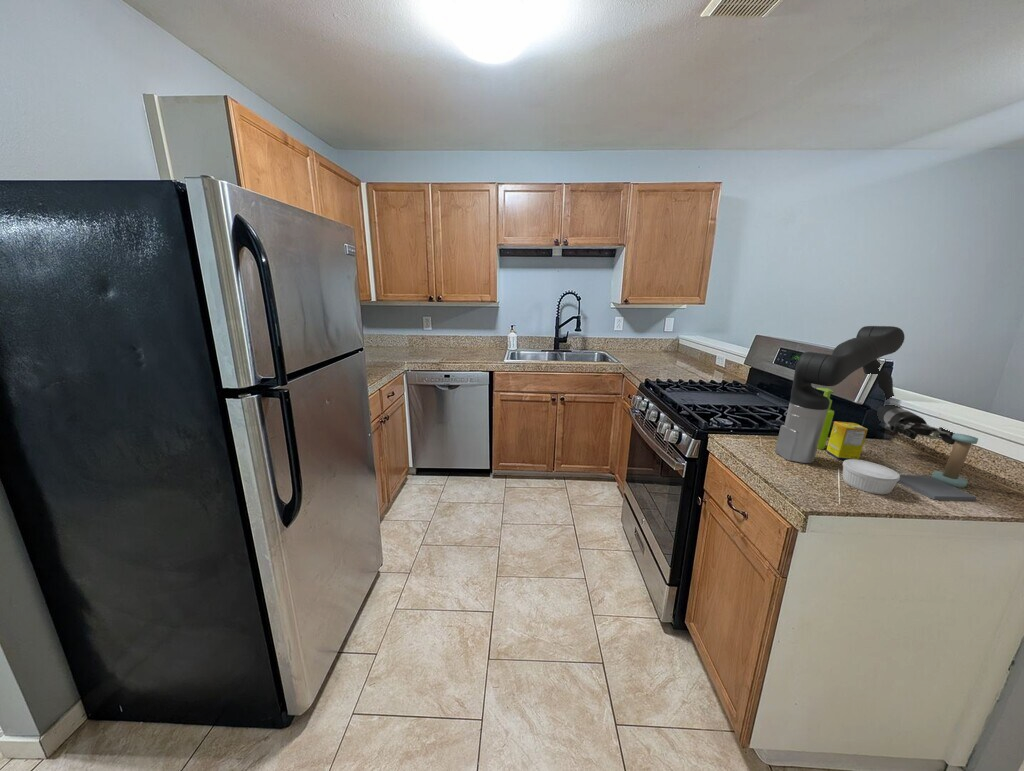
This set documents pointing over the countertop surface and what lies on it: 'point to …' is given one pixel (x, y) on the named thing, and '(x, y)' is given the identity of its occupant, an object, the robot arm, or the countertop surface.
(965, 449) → the teal-flanged spool
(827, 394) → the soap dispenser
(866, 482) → the ramekin
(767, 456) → the countertop surface
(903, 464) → the countertop surface
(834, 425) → the supplement box
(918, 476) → the mat
